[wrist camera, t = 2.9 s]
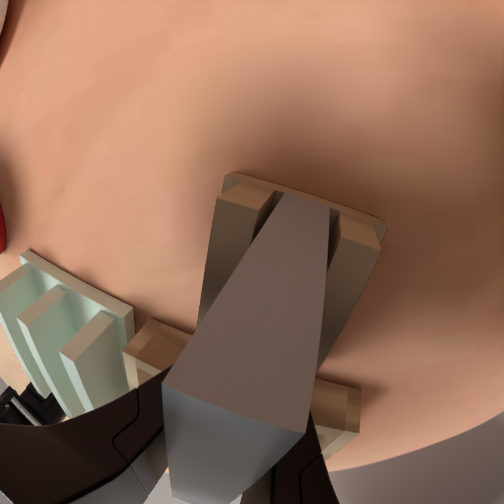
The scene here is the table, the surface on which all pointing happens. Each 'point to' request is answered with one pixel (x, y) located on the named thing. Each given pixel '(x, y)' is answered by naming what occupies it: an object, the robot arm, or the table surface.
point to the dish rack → (66, 334)
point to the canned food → (2, 232)
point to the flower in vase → (3, 12)
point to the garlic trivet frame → (323, 396)
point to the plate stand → (338, 260)
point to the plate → (250, 361)
